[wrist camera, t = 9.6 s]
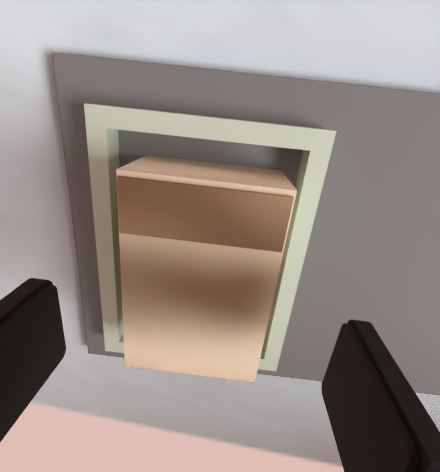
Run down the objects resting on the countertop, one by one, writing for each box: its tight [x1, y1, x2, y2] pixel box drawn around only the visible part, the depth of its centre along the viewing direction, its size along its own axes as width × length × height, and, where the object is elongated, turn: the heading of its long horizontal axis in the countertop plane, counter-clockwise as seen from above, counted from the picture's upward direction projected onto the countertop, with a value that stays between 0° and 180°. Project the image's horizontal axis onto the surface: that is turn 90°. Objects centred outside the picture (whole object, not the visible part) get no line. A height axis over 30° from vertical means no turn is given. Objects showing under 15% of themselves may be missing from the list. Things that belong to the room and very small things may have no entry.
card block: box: [116, 155, 297, 383], centre depth 13 cm, size 9×6×4 cm, turn 174°
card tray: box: [84, 103, 336, 371], centre depth 14 cm, size 13×10×1 cm
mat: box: [52, 52, 440, 395], centre depth 14 cm, size 26×16×1 cm, turn 84°
